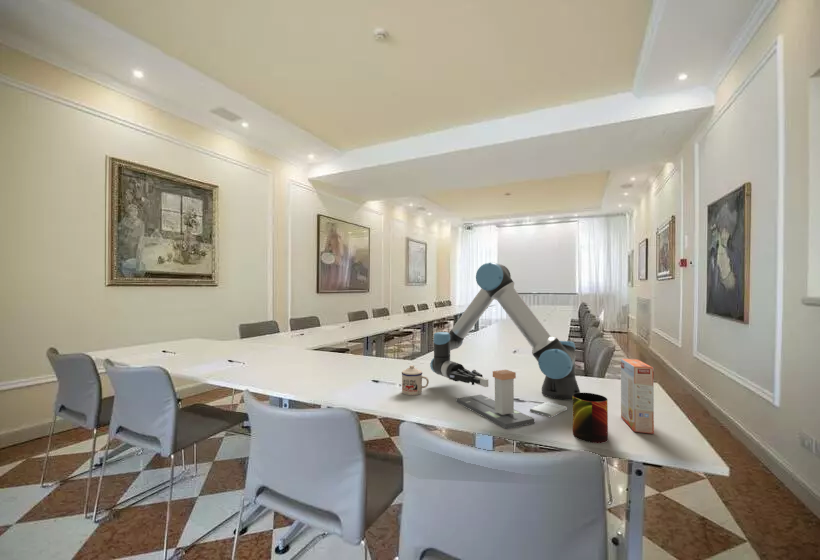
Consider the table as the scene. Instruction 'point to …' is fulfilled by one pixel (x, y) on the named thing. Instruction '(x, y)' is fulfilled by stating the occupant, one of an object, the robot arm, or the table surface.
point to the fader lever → (504, 391)
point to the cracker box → (637, 395)
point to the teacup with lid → (412, 381)
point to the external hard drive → (548, 409)
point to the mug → (590, 417)
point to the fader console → (487, 410)
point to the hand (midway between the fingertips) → (486, 383)
